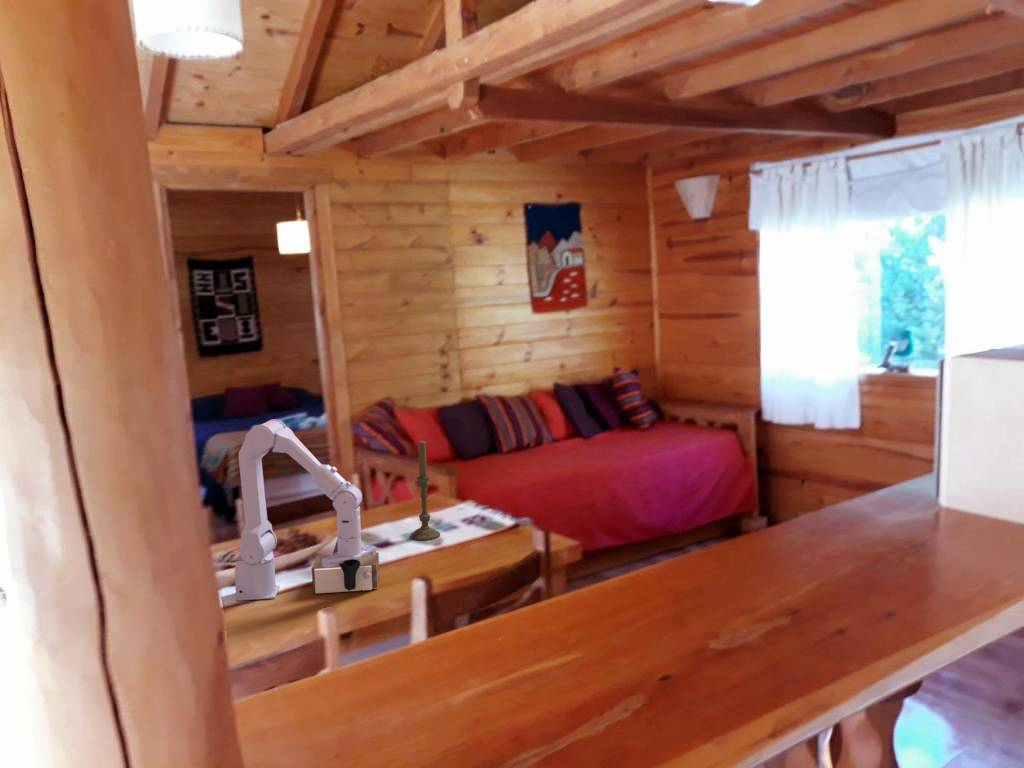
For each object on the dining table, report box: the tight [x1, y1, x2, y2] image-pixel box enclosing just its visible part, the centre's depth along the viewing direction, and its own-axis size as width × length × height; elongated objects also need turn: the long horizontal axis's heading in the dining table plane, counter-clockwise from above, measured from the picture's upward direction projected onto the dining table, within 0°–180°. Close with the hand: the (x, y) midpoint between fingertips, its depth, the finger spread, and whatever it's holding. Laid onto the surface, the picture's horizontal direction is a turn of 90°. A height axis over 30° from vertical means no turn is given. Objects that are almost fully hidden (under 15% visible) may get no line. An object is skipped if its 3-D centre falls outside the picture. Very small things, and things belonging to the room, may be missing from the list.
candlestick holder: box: [410, 440, 441, 542], centre depth 255 cm, size 9×9×30 cm
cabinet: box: [311, 551, 381, 594], centre depth 216 cm, size 16×10×6 cm, turn 96°
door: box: [314, 565, 373, 594], centre depth 210 cm, size 14×2×6 cm, turn 97°
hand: (350, 588), depth 209 cm, fingers closed, pressing on door
